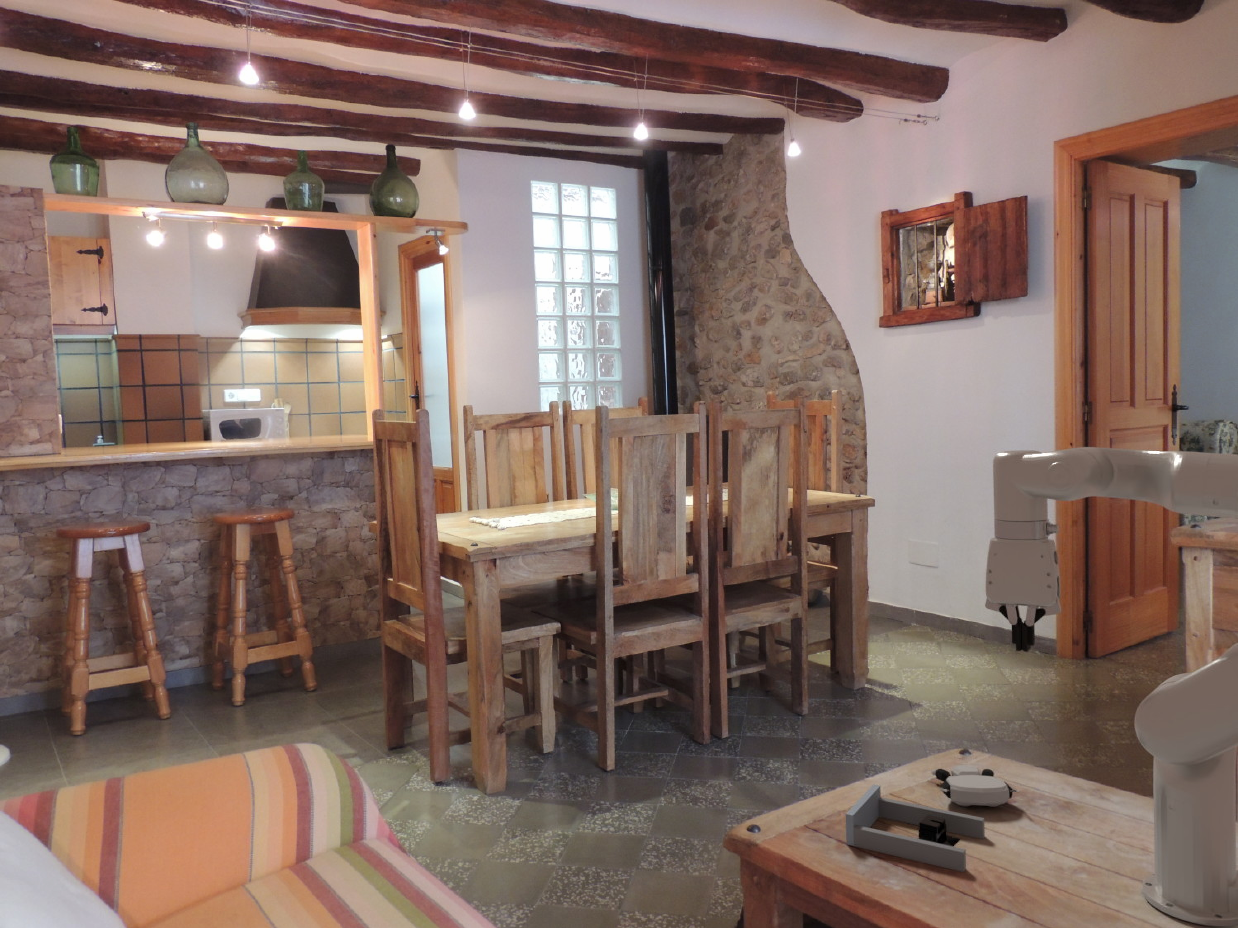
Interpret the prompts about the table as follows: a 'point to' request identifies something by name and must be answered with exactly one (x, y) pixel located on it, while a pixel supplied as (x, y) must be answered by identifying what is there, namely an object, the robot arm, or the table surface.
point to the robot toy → (973, 786)
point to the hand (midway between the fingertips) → (1023, 649)
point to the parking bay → (906, 846)
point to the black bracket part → (935, 831)
